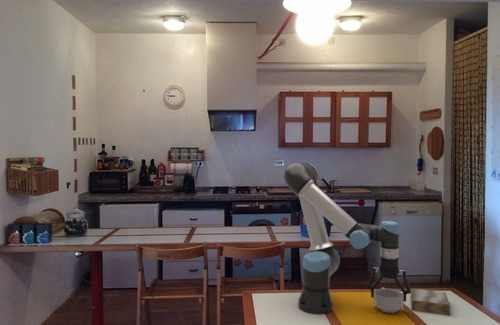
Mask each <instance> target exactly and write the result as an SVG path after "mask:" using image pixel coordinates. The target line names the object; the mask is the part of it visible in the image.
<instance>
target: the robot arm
mask: <svg viewBox="0 0 500 325" xmlns="http://www.w3.org/2000/svg"><path fill="white" fill-rule="evenodd" d="M318 178H319V173H318V170H317V168H316V167H315V166H314V165H313V164H311V163H309V162H304V161H303V162H295V163H291V164H289V165H288V166H286V168H285V170H284V174H283V179H284V182H285V184H286V185H287V187H288V188H289V189H290V190H292V191H293V193H294V194H295V195H297V196H298V198H299V201H300V205H301V211H302V214H303V217H304V221H305V226H306V230H307V234H308V238H309V242H310V246H309V249H308V251H309V252H307V253H306V254H304V255H303V259H302V290H301V293H300V296H299V297H298V298H299V299H298V301H297V302H298V303H297V304H298V305H297V306H298V309H300V310H301V311H303V312H304V313H305V312H306V313H308V314H309V313H310V314H315V315H316V314H317V315H320V314H321V315H322V314H327V313H331V312H332V311H333V310H334V303H333V299H332V296H331V291H330V278H331V276H332V275H333V274H334V273H335V272H336V271H337V270H338V268H339V267H340V263H341V262H340V260H341V258H340V255H339V253H338V251H337V250H335V246H334V244H333V243H332V242H331V241H330V240H329V236H328V232H327V227H326V224H325V221H324V217H325V219H327V220H328V221H329V222H330V223H331V224H332V225H333V226H334V227H335V228H336V229H337V230H338V231H339V232H341V233H342V234H343V235H344V236H345V237H346V238H347V240H348V242H349V244H350V245H351V246H352V247H353V248H354V249H356V250H357V249H358V250H361V249H364V248H366V247H368V245H369V244H370V243H379V244H380V252H379V253H380V255H379V256H380V258H379V262H380V263H379V267H376V266H373V267H372V273H371V275H370V278H369V280H368V283H367V285H366V289H369V290H370V297H371V298H373V307H376V305H377V304H376V293H375V292H376V291H377V289H376V288H377V287H378V285H379V284H380V283H381V281H383V279H390V280H393V279H394V281H395V283H396V284H397V285H398V287H399V289H400V290H401V291H400V292H401V294H402V296H401V308H400V309H401V311H402V310H404V303H406V301H407V295H408V294H410V295H411V287H410V284H409V282H408V279H407V274H406V272H407V271H406V269H400V268H399V252H400V251H399V250H400V247H399V246H400V245H399V244H400V225H399V223H398V222H397V221H393V220H392V221H391V220H382V221H381V223H380V224H378V225H377V224H368V223H363V222H362V223H358V222H357V221H356V220H355V219H354V218H353V217H352V216H351V215H349V214H348V213H347V212H346V211H345V210H344V209H343V208H342V207H340V206H339V205H338V204H337V203H336V202H335V201H334V200H333V199H331V197H329V196H328V195H327V194H326V193H325V192H324V191H323V190H321V188H319V183H318ZM378 271H379V273H380V276H378V278H377V279H376V280H375V282H373V280H374V279H375V276H376V274H377V273H378ZM399 274H400V275H401V276H402V279H403V282H404V285H405V286H403V283H401V281H400V279H399V277H398V275H399ZM372 284H373V285H372Z"/></svg>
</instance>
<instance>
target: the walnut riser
mask: <svg viewBox="0 0 500 325" xmlns="http://www.w3.org/2000/svg"><path fill="white" fill-rule="evenodd" d="M410 290H411V293H410V305H411V310H412V311H416V312H417V311H418V312H424V313H429V314H430V313H431V314H432V313H433V314H440V315H446V316H450V315H451V305H450V301H449V298H448V296H447V293H446V292H443V291H436V290H435V291H434V290H428V289H421V288H410Z"/></svg>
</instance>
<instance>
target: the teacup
mask: <svg viewBox="0 0 500 325" xmlns="http://www.w3.org/2000/svg"><path fill="white" fill-rule="evenodd" d="M375 293H376V304H375V305H376V306H377V308H378V309H379V310H380V311H381V312H383V313H385V314H386V313H387V314H395V313H396V312H398V311H399V310H400V309H401V296H402V291H400V290H397V289H394V288H393V289H392V288H385V287H381V288H380V289H376V292H375Z"/></svg>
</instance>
